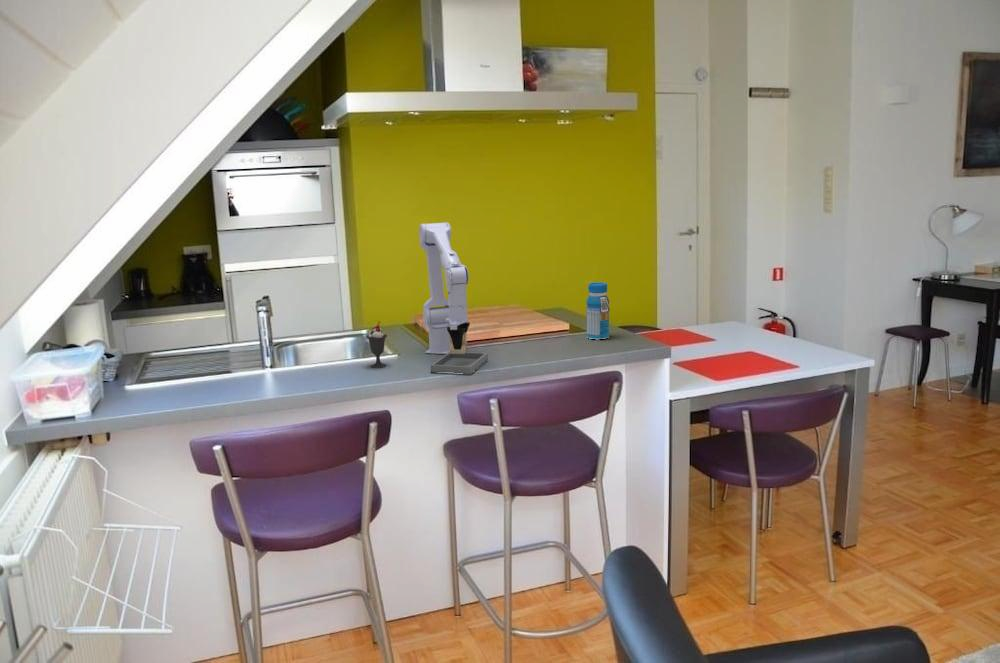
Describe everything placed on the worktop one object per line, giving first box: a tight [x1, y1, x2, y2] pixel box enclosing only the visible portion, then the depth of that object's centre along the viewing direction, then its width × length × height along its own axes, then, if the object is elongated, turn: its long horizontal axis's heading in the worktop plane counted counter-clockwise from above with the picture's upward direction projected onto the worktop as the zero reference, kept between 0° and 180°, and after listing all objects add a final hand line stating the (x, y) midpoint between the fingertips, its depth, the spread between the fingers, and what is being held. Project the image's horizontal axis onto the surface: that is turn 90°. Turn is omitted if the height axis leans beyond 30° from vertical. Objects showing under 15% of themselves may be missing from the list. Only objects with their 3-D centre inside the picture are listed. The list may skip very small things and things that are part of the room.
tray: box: [430, 351, 489, 376], centre depth 250 cm, size 18×13×2 cm
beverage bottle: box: [585, 281, 611, 340], centre depth 282 cm, size 8×8×20 cm
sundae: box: [365, 321, 388, 369], centre depth 252 cm, size 7×7×15 cm
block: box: [449, 332, 468, 354], centre depth 248 cm, size 4×4×6 cm
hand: (459, 347), depth 249 cm, fingers closed on block, 4 cm apart
